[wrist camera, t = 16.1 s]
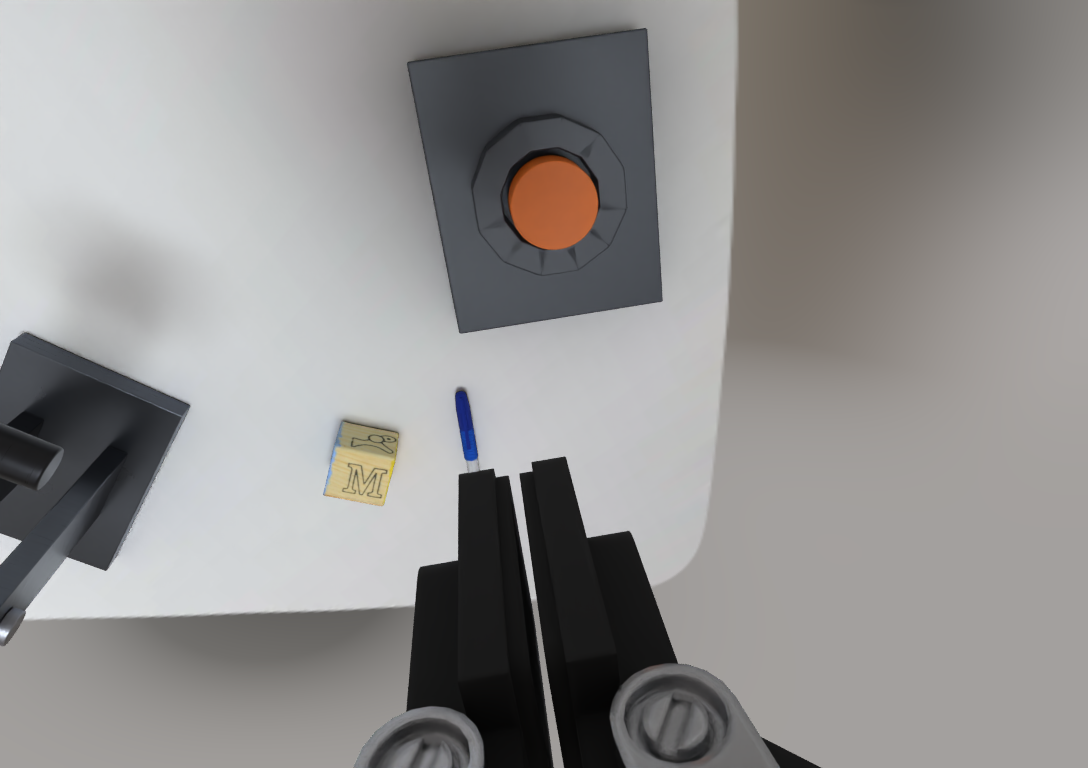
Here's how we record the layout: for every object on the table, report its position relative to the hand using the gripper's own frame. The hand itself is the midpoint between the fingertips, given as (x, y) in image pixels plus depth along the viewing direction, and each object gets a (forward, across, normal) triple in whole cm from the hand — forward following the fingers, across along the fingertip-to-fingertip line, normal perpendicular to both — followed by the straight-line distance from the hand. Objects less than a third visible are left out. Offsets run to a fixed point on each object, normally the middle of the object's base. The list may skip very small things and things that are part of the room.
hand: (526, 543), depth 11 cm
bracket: (+25, +23, +9) cm, 35 cm away
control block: (+25, -3, -1) cm, 25 cm away
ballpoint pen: (+25, +3, +14) cm, 29 cm away
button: (+21, -3, -1) cm, 22 cm away
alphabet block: (+25, +8, +12) cm, 29 cm away
